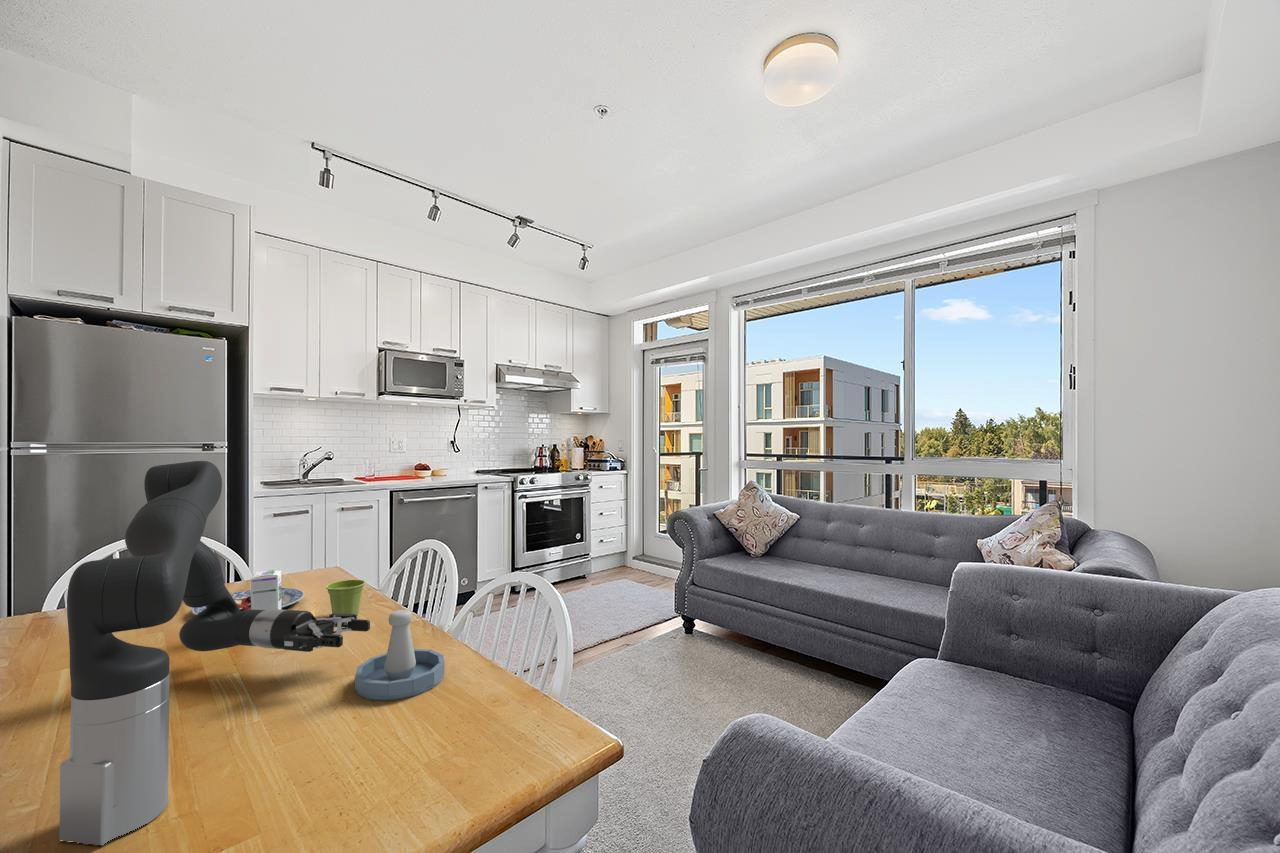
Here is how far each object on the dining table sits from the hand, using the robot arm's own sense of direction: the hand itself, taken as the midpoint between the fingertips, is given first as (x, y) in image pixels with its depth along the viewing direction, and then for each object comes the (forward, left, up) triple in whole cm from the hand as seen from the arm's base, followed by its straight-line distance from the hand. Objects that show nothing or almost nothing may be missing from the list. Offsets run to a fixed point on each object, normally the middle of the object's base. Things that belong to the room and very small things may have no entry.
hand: (356, 633), depth 111 cm
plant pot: (+34, +26, -9) cm, 44 cm away
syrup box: (+21, +38, -9) cm, 45 cm away
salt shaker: (0, -10, -8) cm, 13 cm away
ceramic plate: (+37, +57, -9) cm, 69 cm away
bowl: (0, -10, -9) cm, 13 cm away
